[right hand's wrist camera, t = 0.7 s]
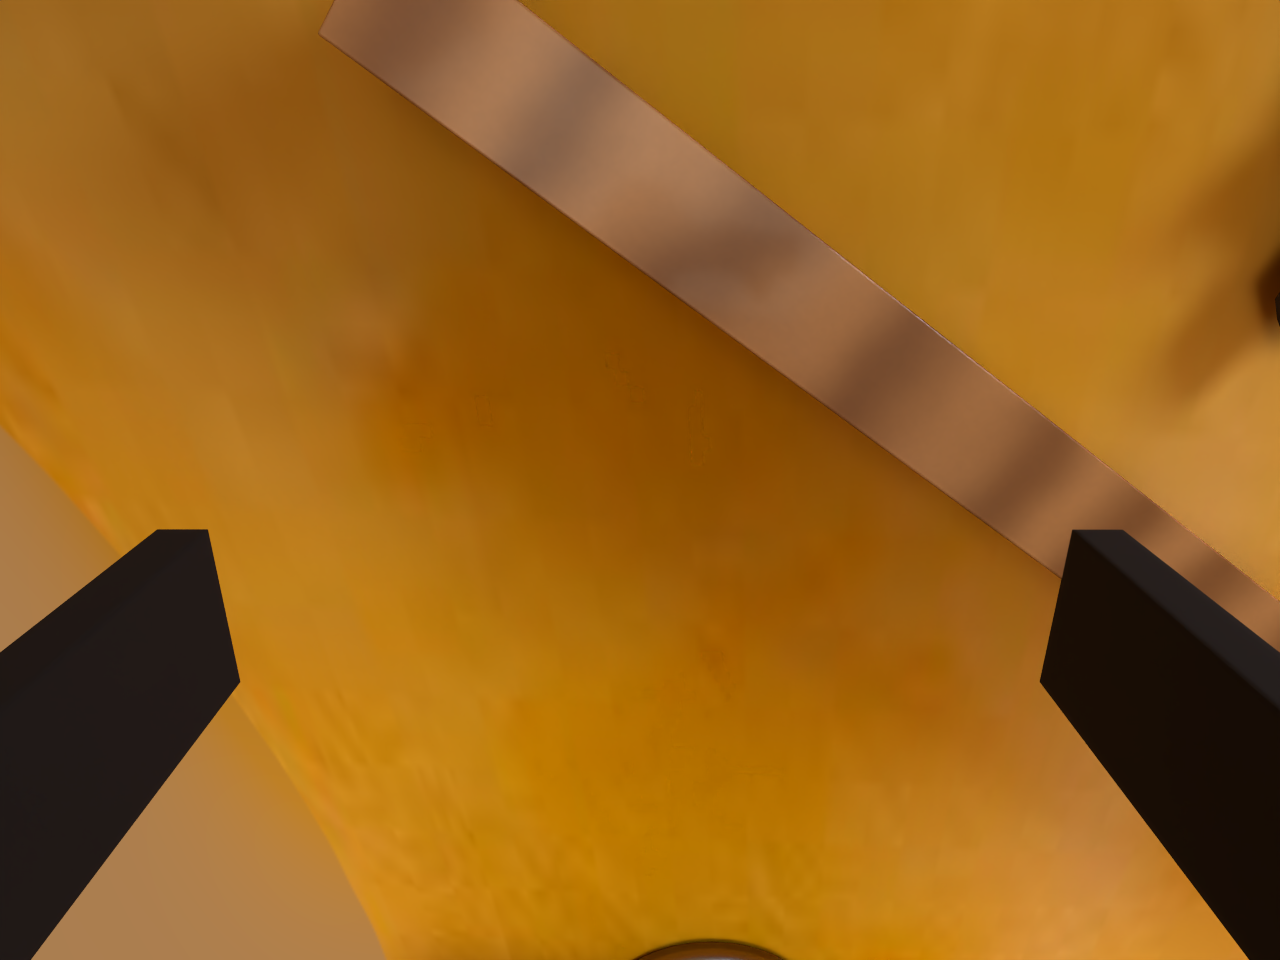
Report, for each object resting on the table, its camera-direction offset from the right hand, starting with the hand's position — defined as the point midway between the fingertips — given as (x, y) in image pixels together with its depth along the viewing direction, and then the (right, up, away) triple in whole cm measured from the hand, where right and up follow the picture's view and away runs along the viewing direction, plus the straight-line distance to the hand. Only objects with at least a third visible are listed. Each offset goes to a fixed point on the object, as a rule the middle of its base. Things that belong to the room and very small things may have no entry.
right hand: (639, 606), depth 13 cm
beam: (+23, -1, +29) cm, 37 cm away
